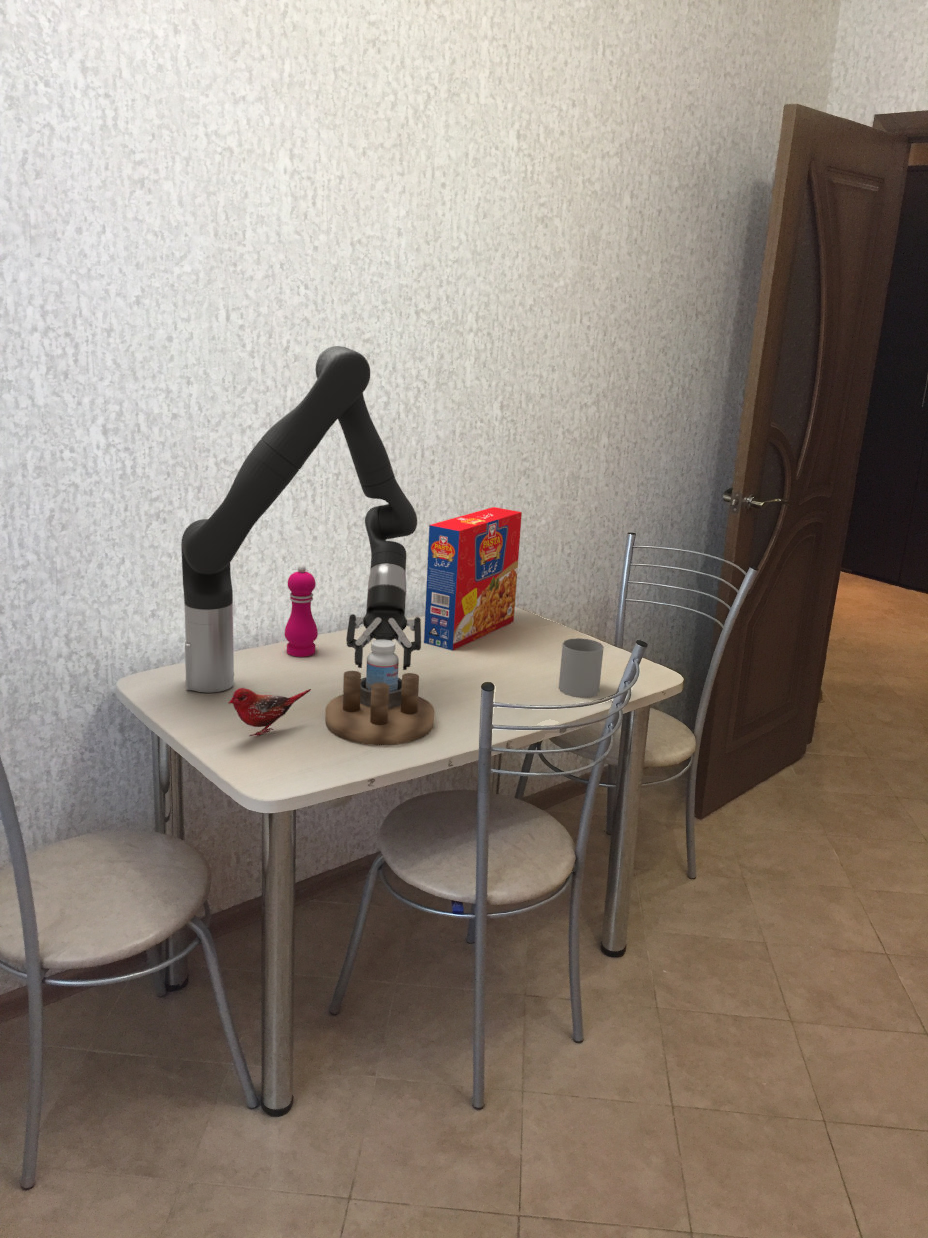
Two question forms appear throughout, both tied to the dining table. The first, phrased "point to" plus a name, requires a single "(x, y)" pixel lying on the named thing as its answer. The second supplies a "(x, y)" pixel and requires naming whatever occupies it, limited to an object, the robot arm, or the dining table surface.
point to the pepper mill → (301, 615)
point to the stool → (379, 712)
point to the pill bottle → (382, 664)
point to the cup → (580, 667)
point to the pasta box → (471, 576)
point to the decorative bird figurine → (261, 707)
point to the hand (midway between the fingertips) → (382, 667)
